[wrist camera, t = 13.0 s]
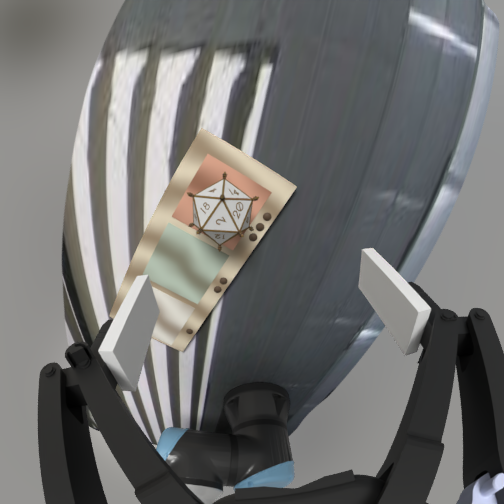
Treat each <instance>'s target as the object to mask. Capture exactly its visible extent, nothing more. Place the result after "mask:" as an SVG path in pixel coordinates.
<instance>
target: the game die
mask: <svg viewBox="0 0 504 504" xmlns="http://www.w3.org/2000/svg"><path fill="white" fill-rule="evenodd" d="M222 175H223V176H222V177H223V179H221V180H220V181H218V182H216V183H214V184H212V185H211V186H209V187H207V188H205V189H203V190H202V191H200V192H198V193H196V194H195V195H193V193H191V192H187V194H188V196H190V197H193V223H190V224H189V226H188V227H193V226H196V227H197V228H198V229H199V230H197V231H196V234H200V233H202V232H203V233H204V234H206V235H207V236H208V237H209V238H210V239H212V240H213V241H214V242H215V243H217V244H218V251H219V252H220V251H221V250H222V247H221V245H222V244H224V243H225V242H227V241H229V240H230V239H232V238H234V237H235V236H237V235H238V234H239V236H240V237H244V234H243V233H242V232H243V231H245V230H247V229H249V230H250V231H254V229H253V227H252V226H251V227H250V226H249V225H250V218H251V211H252V204H253V201H256V200H258V198H259V197H256V196H255V197H253V198H251V197H249V196H248V195H247V194H245V193H244V192H243V191H241V190H240V189H239V188H237V187H236V186H235V185H233V184H232V183H231V182H229V181H228V180H227V179H226V177H227V174H226V172H224V173H223V174H222Z"/></svg>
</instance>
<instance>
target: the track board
mask: <svg viewBox="0 0 504 504" xmlns="http://www.w3.org/2000/svg"><path fill="white" fill-rule="evenodd" d="M224 172H226V174H227V177H226V179H227V180H228V181H229V182H231V183H232V184H233V185H235V186H236V187H237V188H239V189H240V190H241V191H243V192H244V193H245V194H247V195H248V196H249V197H251V198H253V197H255V196H256V197H259V198H258V200H256V201H253V204H252V211H251V218H250V225H249V226H250V227H251V226H252V227H253V229H254V231H250V230H249V229H247V230H245V231H243V232H242V233H243V234H244V237H240V236H239V234H238V235H237V236H235V237H234V238H232V239H230V240H229V241H227V242H225V243H224V244H222V245H221V247H222V250H221V251H220V252H219V251H218V244H217V243H215V242H214V241H213V240H212V239H210V238H209V237H208V236H207V235H206V234H204V233H203V232H202V233H200V234H196V231H197V230H199V229H198V228H197V227H196V226H193V227H188V226H189V224H190V223H193V197H190V196H188V194H187V192H191V193H193V195H195V194H196V193H198V192H200V191H202V190H203V189H205V188H207V187H209V186H211V185H212V184H214V183H216V182H218V181H220V180H221V179H223V177H222V176H223V175H222V174H223V173H224ZM296 188H297V187H296V186H295V185H294V184H292V183H291V182H289V181H288V180H286V179H285V178H283V177H282V176H280V175H279V174H277V173H276V172H274V171H272V170H271V169H269V168H268V167H266V166H265V165H263V164H261V163H260V162H258V161H257V160H255V159H253V158H252V157H250V156H249V155H247V154H245V153H244V152H242V151H240V150H239V149H237V148H235V147H234V146H232V145H230V144H229V143H227V142H225V141H224V140H222V139H220V138H218V137H217V136H215V135H213V134H211V133H210V132H208V131H206V130H204V129H203V128H201V130H200V132H199V133H198V135H197V136H196V138H195V140H194V141H193V143H192V145H191V146H190V148H189V150H188V151H187V153H186V155H185V156H184V158H183V160H182V162H181V163H180V165H179V167H178V169H177V170H176V172H175V174H174V176H173V178H172V180H171V181H170V183H169V185H168V187H167V189H166V191H165V193H164V194H163V196H162V198H161V200H160V202H159V204H158V206H157V208H156V210H155V212H154V214H153V216H152V218H151V220H150V222H149V224H148V226H147V228H146V230H145V232H144V234H143V237H142V239H141V241H140V243H139V245H138V247H137V250H136V252H135V254H134V256H133V259H132V261H131V263H130V265H129V268H128V270H127V273H126V275H125V277H124V280H123V282H122V285H121V287H120V290H119V292H118V295H117V297H116V300H115V302H114V305H113V308H112V310H111V313H110V317H112V318H115V316H116V314H117V312H118V310H119V308H120V306H121V304H122V303H123V301H124V299H125V297H126V295H127V293H128V291H129V290H130V288H131V286H132V284H133V282H134V281H135V279H136V277H137V276H141V275H148V276H149V279H150V282H151V286H152V289H153V292H154V295H155V298H156V301H157V304H158V308H159V311H160V312H159V315H158V318H157V321H156V324H155V328H154V331H153V334H152V337H151V338H153V339H155V340H157V341H159V342H161V343H164V344H166V345H168V346H170V347H172V348H175V349H177V350H179V351H182V352H183V351H184V349H185V348H186V346H187V345H188V343H189V342H190V341H191V339H192V338H193V336H194V335H195V333H196V332H197V330H198V329H199V328H200V326H201V325H202V323H203V322H204V320H205V319H206V317H207V316H208V315H209V313H210V312H211V310H212V309H213V307H214V306H215V305H216V303H217V302H218V300H219V299H220V297H221V296H222V294H223V293H224V292H225V290H226V289H227V287H228V286H229V284H230V283H231V281H232V280H233V279H234V277H235V276H236V274H237V273H238V271H239V270H240V268H241V267H242V266H243V264H244V263H245V261H246V260H247V258H248V257H249V255H250V254H251V253H252V251H253V250H254V248H255V247H256V245H257V244H258V243H259V241H260V240H261V238H262V237H263V235H264V234H265V232H266V231H267V230H268V228H269V227H270V225H271V224H272V222H273V221H274V219H275V218H276V217H277V215H278V214H279V212H280V211H281V209H282V208H283V206H284V205H285V204H286V202H287V201H288V199H289V198H290V196H291V195H292V194H293V192H294V191H295V189H296Z"/></svg>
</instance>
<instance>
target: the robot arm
mask: <svg viewBox="0 0 504 504" xmlns="http://www.w3.org/2000/svg"><path fill="white" fill-rule="evenodd" d="M359 289H360V290H361V291H362V293H363V294H364V296H365V297H366V298H367V300H368V301H369V303H370V304H371V306H372V307H373V308H374V310H375V311H376V313H377V314H378V316H379V317H380V319H381V320H382V322H383V323H384V325H385V326H386V328H387V329H388V331H389V332H390V334H391V335H392V337H393V338H394V340H395V341H396V343H397V344H398V346H399V348H400V349H401V351H402V352H403V354H404V355H409V354H411V353H415V352H417V350H418V347H419V344H421V345H422V346H423V351H422V353H421V356H420V358H419V361H418V363H419V366H418V370H417V374H416V377H415V381H414V384H413V388H412V391H411V394H410V397H409V401H408V404H407V407H406V410H405V413H404V415H403V418H402V421H401V424H400V427H399V429H398V431H397V434H396V437H395V439H394V441H393V444H392V446H391V449H390V451H389V453H388V455H387V458H386V460H385V462H384V464H383V465H382V467H381V469H380V470H379V472H378V474H377V475H376V477H372V476H367V475H354V474H353V471H352V470H349V471H345V472H341V473H338V474H333V475H329V476H325V477H323V478H321V479H318V480H316V481H314V482H311V483H309V484H306V485H304V486H302V487H300V488H295V489H290V488H283V487H285V486H287V485H289V484H290V483H291V482H292V481H293V479H294V466H293V465H294V461H293V459H292V454H291V448H290V443H289V438H288V432H287V427H286V423H287V418H288V413H289V408H290V400H289V395H288V393H287V391H286V390H285V389H284V388H282V387H280V386H278V385H275V384H271V383H249V384H245V385H241V386H238V387H236V388H234V389H232V390H231V391H229V392H228V393H227V394H226V396H225V398H224V412H225V415H226V417H227V419H228V422H229V424H230V426H231V429H232V434H222V433H212V432H205V431H198V430H191V429H189V428H186V429H182V428H174V427H169V428H167V429H165V430H164V431H163V433H162V434H161V437H160V439H159V442H158V445H157V448H156V449H155V447H154V446H153V445H152V443H151V442H150V441H149V439H148V438H147V437H146V435H145V434H144V433H143V431H142V430H141V428H140V427H139V425H138V424H137V423H136V421H135V420H134V418H133V417H132V415H131V414H130V412H129V410H128V409H127V407H126V406H125V404H124V403H123V401H122V399H121V398H120V396H119V394H118V393H117V391H116V390H115V389H116V386H117V384H118V385H119V387H120V388H121V390H122V391H136V388H137V384H138V381H139V377H140V374H141V370H142V367H143V363H144V360H145V356H146V353H147V350H148V347H149V343H150V340H151V337H152V334H153V331H154V328H155V324H156V321H157V318H158V315H159V312H160V311H159V308H158V304H157V301H156V298H155V295H154V292H153V289H152V286H151V282H150V279H149V276H148V275H141V276H137V277H136V279H135V281H134V282H133V284H132V286H131V288H130V290H129V291H128V293H127V295H126V297H125V299H124V301H123V303H122V304H121V306H120V308H119V310H118V312H117V314H116V316H115V318H114V320H108V321H107V322H106V323H104V324H103V325H102V327H101V329H100V331H99V334H97V336H96V339H95V340H94V342H93V344H92V346H91V348H90V347H89V345H88V344H87V343H85V342H77V343H74V344H72V345H71V346H69V348H68V349H67V350H66V352H65V358H66V359H67V361H68V362H69V364H70V365H71V367H70V368H66V369H62V368H61V367H60V365H59V364H58V363H49V364H47V365H46V366H44V367H43V369H42V370H41V372H40V378H39V393H38V394H39V395H38V442H39V443H38V444H39V458H40V468H41V477H42V483H43V489H44V496H45V501H46V504H108V503H107V500H106V497H105V494H104V491H103V487H102V484H101V481H100V477H99V473H98V469H97V465H96V461H95V457H94V452H93V447H92V442H91V438H90V432H89V426H88V420H87V413H86V406H85V405H88V407H89V409H90V411H91V413H92V416H93V418H94V420H95V422H96V424H97V426H98V428H99V430H100V432H101V434H102V435H103V437H104V439H105V441H106V443H107V445H108V446H109V448H110V450H111V452H112V454H113V455H114V457H115V459H116V460H117V462H118V464H119V465H120V467H121V468H122V470H123V472H124V473H125V475H126V476H127V478H128V479H129V481H130V482H131V484H132V485H133V487H134V488H135V495H136V497H137V498H138V500H139V501H140V503H141V504H428V503H426V500H427V497H428V495H429V492H430V490H431V487H432V484H433V481H434V479H435V476H436V473H437V470H438V467H439V464H440V461H441V457H442V454H443V450H444V444H443V443H441V440H442V435H443V431H444V427H445V423H446V419H447V414H448V409H449V404H450V399H451V393H452V387H453V381H454V373H455V365H456V368H457V375H458V382H459V390H460V398H461V408H462V424H463V484H464V490H463V491H462V493H461V495H460V498H459V500H458V502H457V504H504V353H503V350H502V347H501V344H500V341H499V339H498V336H497V333H496V331H495V328H494V326H493V323H492V320H491V318H490V316H489V314H488V313H487V312H486V311H485V310H483V309H480V308H473V309H471V311H470V312H469V315H468V317H458V316H457V315H456V313H454V312H453V311H451V310H448V309H440V307H439V306H438V305H437V304H436V303H435V302H434V301H433V300H432V299H431V298H430V297H429V296H428V295H427V294H426V293H425V292H424V291H423V290H422V289H421V288H420V286H418V285H416V284H415V283H413V282H409V283H407V282H406V281H405V280H404V279H403V278H402V277H401V276H400V275H399V274H398V272H397V271H396V270H395V269H394V268H393V267H392V266H391V265H390V264H389V263H388V262H387V261H386V260H385V259H384V258H382V257H381V256H380V255H379V254H378V253H377V252H376V251H375V250H374V249H373V248H368V249H362V256H361V267H360V278H359ZM223 486H232V487H233V489H234V491H235V494H232V495H228V496H226V497H223V498H221V499H219V500H217V501H216V502H215V499H217V498H218V497H219V496H220V495H221V494H223Z"/></svg>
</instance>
